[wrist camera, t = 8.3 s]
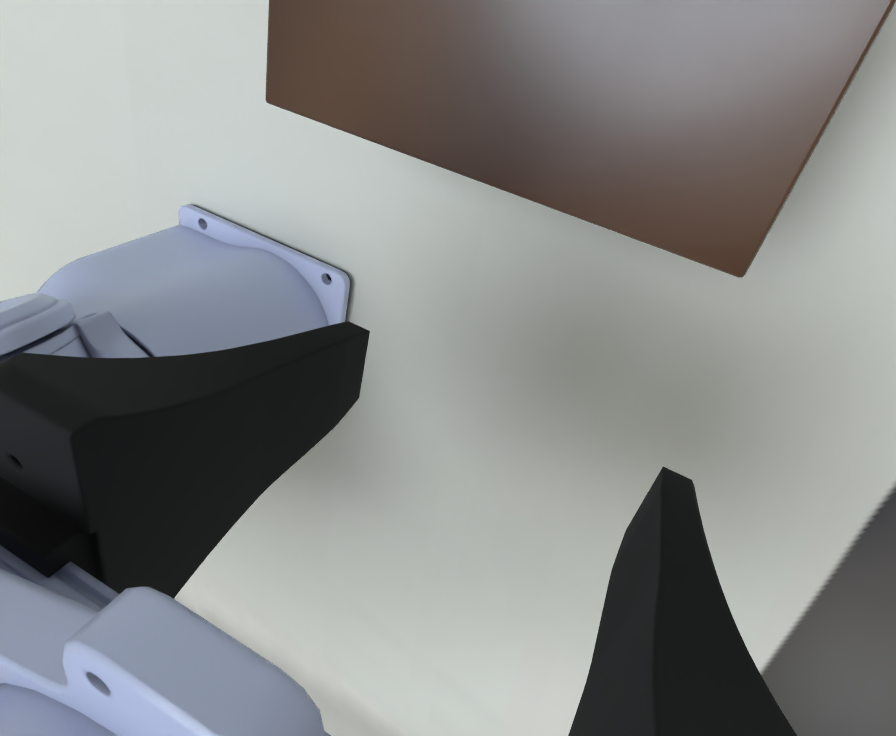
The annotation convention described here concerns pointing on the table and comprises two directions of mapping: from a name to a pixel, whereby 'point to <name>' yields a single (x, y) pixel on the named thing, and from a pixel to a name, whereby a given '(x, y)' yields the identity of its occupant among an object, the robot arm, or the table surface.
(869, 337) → the table surface
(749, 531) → the table surface
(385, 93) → the cabinet
